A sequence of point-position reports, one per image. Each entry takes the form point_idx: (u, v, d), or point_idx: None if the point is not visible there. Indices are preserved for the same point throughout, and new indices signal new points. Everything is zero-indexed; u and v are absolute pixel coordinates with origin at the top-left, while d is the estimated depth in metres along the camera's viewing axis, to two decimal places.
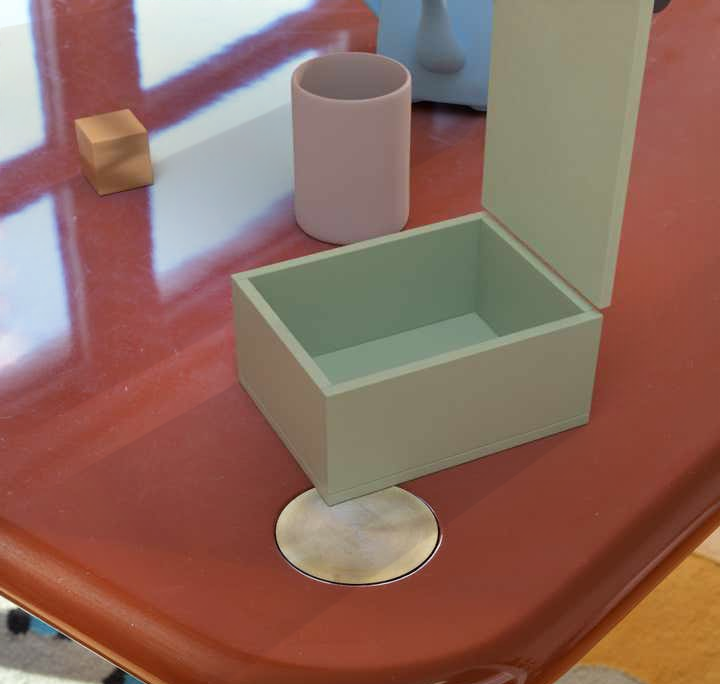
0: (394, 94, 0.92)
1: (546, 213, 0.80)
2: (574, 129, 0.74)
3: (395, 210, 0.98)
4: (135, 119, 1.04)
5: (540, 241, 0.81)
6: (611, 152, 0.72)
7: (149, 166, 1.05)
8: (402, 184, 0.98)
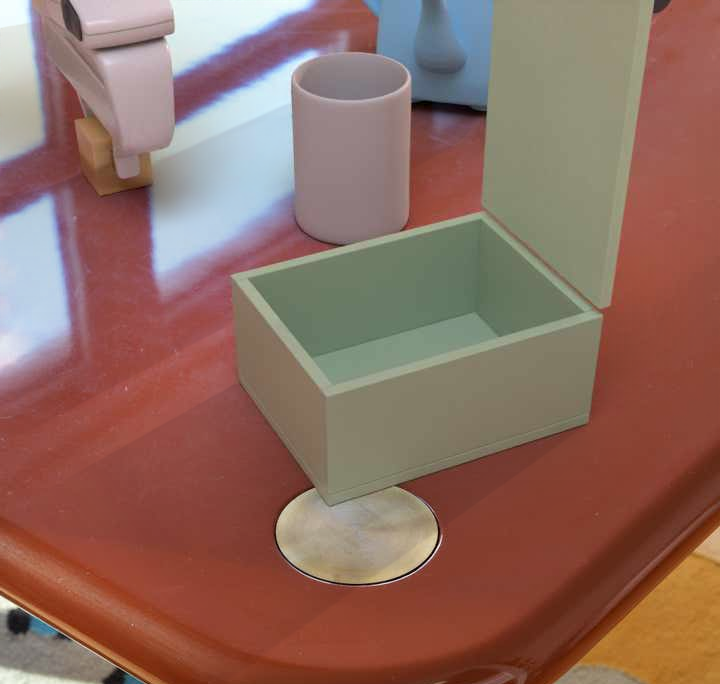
0: (394, 94, 0.92)
1: (546, 213, 0.80)
2: (574, 129, 0.74)
3: (395, 210, 0.98)
4: None
5: (540, 241, 0.81)
6: (611, 152, 0.72)
7: (149, 166, 1.05)
8: (402, 185, 0.98)
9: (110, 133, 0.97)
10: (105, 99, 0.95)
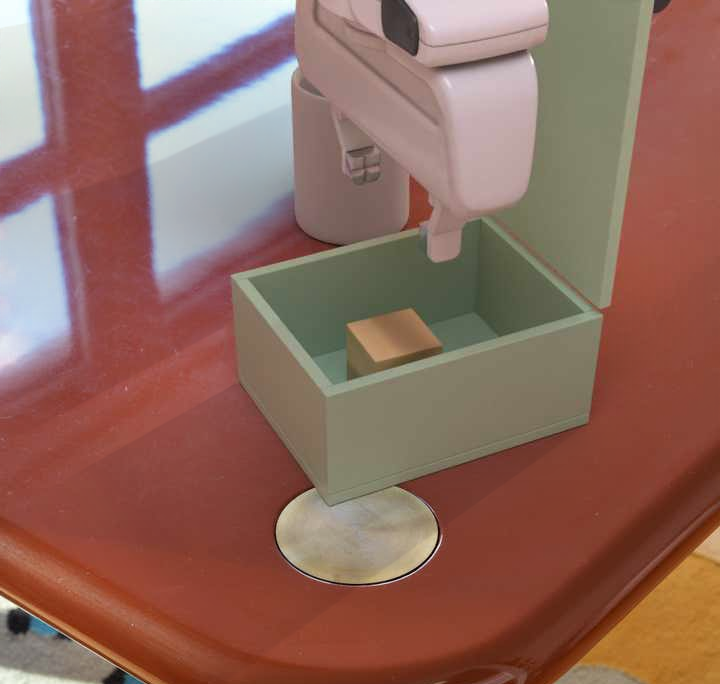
0: None
1: (546, 213, 0.80)
2: (574, 129, 0.74)
3: (395, 210, 0.98)
4: (424, 325, 0.82)
5: (540, 241, 0.81)
6: (611, 152, 0.72)
7: None
8: (402, 184, 0.98)
9: (426, 186, 0.68)
10: (427, 138, 0.66)
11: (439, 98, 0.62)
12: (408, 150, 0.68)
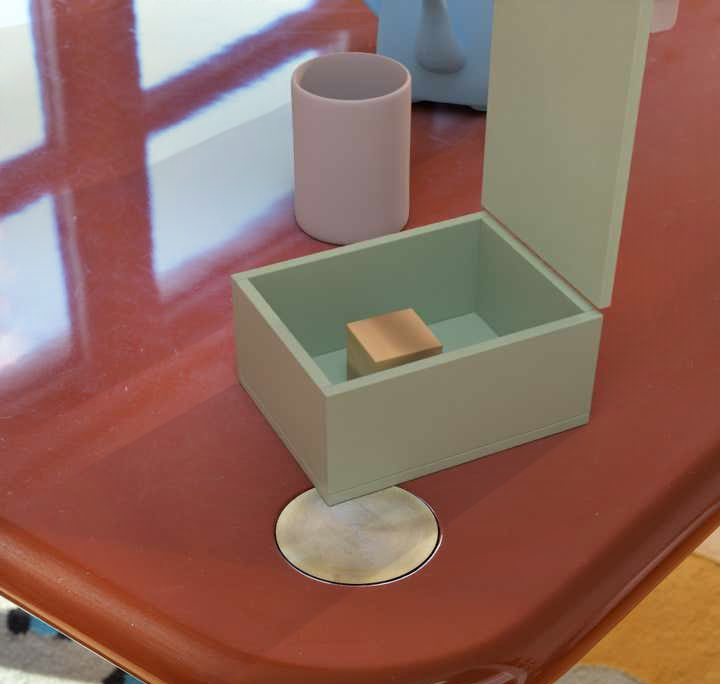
0: (394, 94, 0.92)
1: (546, 213, 0.80)
2: (574, 129, 0.74)
3: (395, 210, 0.98)
4: (424, 325, 0.82)
5: (540, 241, 0.81)
6: (611, 152, 0.72)
7: None
8: (402, 185, 0.98)
9: None
10: None
11: None
12: None
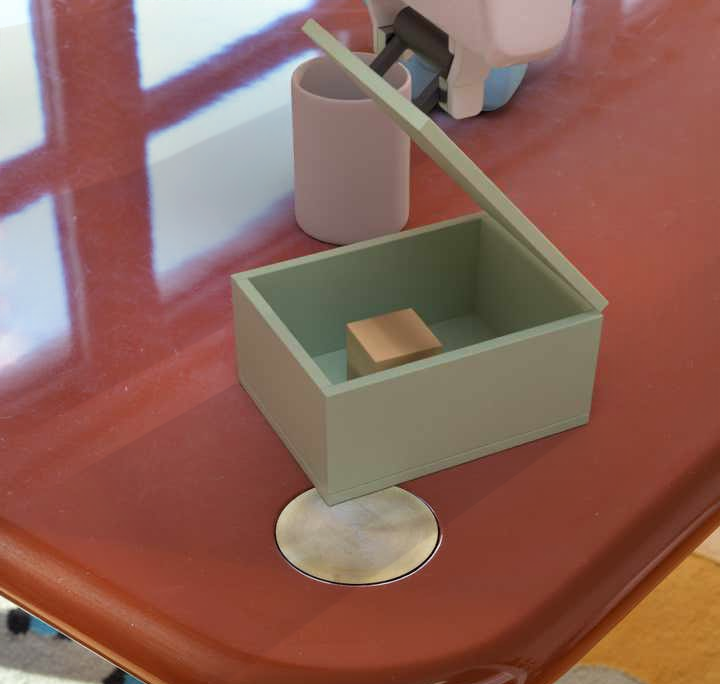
0: None
1: (516, 236, 0.80)
2: (477, 195, 0.74)
3: (395, 210, 0.98)
4: (424, 325, 0.82)
5: None
6: (508, 222, 0.72)
7: None
8: (402, 184, 0.98)
9: (457, 37, 0.63)
10: None
11: None
12: None
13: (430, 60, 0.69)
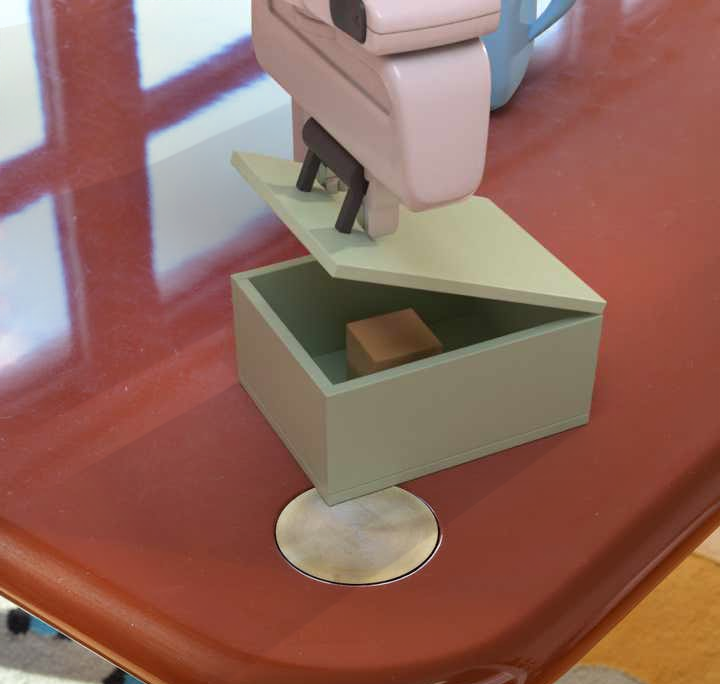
0: None
1: None
2: None
3: None
4: (424, 325, 0.82)
5: None
6: None
7: None
8: None
9: (379, 178, 0.66)
10: (379, 129, 0.64)
11: (388, 87, 0.60)
12: (361, 141, 0.66)
13: (338, 177, 0.71)
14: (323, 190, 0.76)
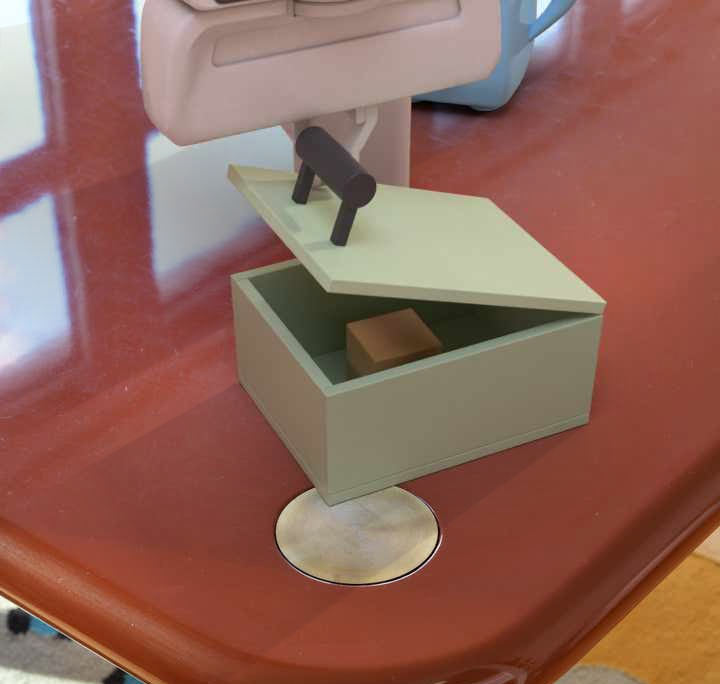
0: None
1: None
2: None
3: None
4: (424, 325, 0.82)
5: None
6: None
7: None
8: (402, 185, 0.98)
9: None
10: None
11: None
12: None
13: None
14: (319, 201, 0.76)
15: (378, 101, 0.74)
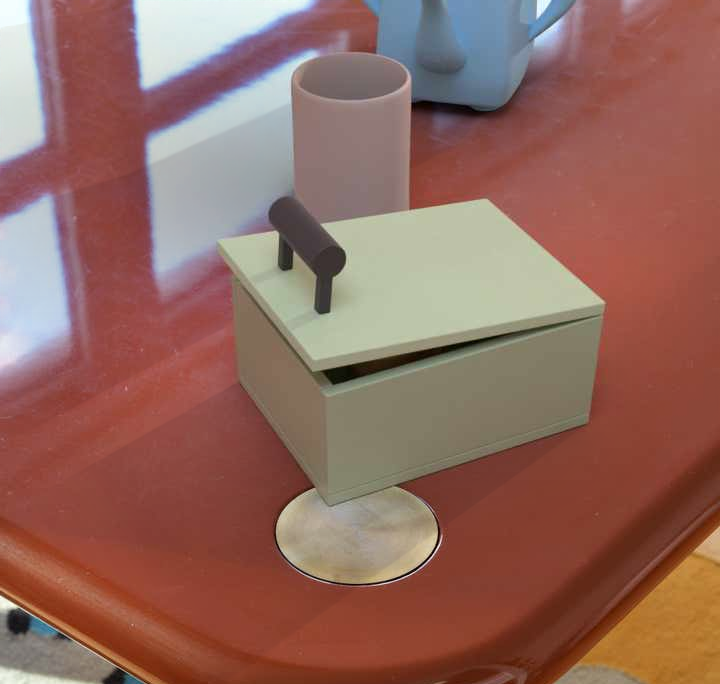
0: (394, 94, 0.92)
1: None
2: None
3: (395, 210, 0.98)
4: None
5: None
6: None
7: None
8: (402, 185, 0.98)
9: None
10: None
11: None
12: None
13: None
14: None
15: None
